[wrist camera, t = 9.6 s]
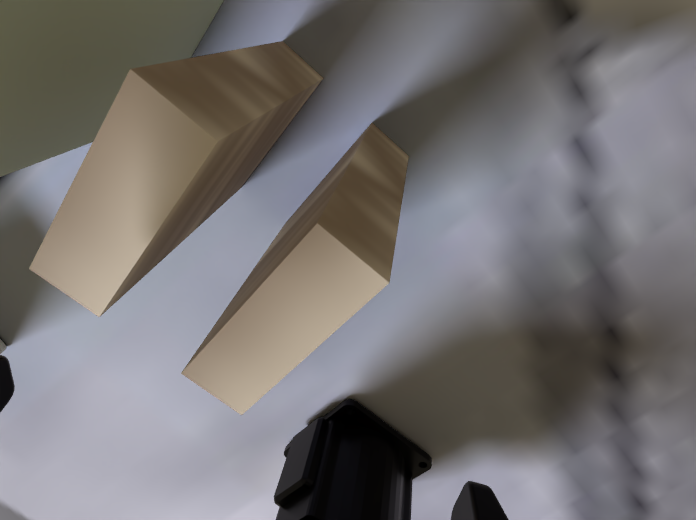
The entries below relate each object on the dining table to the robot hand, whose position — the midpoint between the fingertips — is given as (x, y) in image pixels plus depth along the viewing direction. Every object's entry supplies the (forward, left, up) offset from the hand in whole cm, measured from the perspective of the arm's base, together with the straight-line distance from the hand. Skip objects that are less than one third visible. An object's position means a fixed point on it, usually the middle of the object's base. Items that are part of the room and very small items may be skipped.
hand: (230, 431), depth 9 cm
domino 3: (0, 0, -13) cm, 13 cm away
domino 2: (+5, 0, -13) cm, 14 cm away
